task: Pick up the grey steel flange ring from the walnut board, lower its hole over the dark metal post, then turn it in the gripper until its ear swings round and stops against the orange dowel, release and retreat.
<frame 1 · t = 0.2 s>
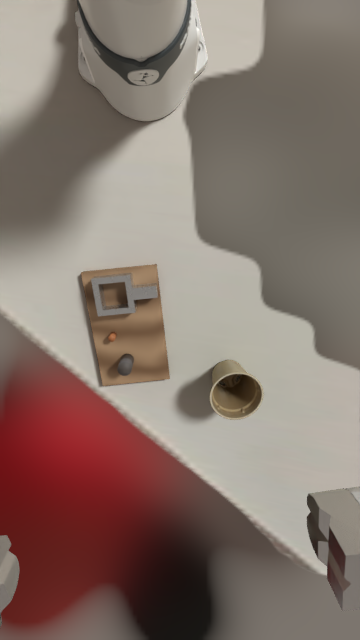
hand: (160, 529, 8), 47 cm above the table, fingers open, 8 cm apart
flange: (150, 288, 52), point 1 cm above the table, touching board
flower pot: (226, 373, 60), on the table
board: (128, 326, 56), on the table
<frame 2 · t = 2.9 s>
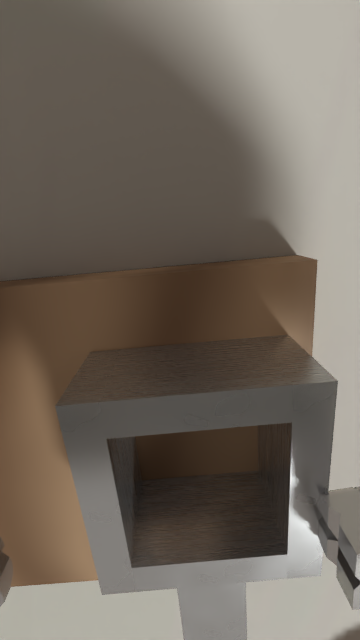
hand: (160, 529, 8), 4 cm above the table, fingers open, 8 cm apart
flange: (205, 547, 12), point 2 cm above the table, touching board, gripper
board: (27, 436, 12), on the table
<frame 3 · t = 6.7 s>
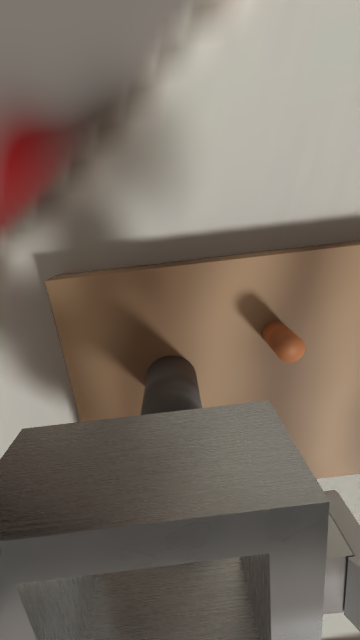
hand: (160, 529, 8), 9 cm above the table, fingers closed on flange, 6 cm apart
flange: (182, 638, 10), point 8 cm above the table, touching gripper
board: (280, 368, 17), on the table
when the fingers open (2 cm above the table, at t = 10.2 s): flange stays where it is, resting on board.
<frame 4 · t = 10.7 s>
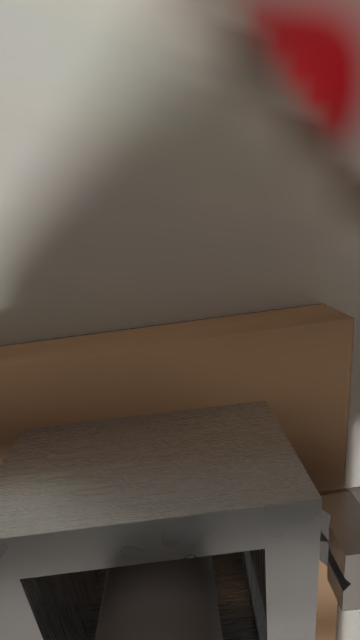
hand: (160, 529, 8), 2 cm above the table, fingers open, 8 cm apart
flange: (181, 633, 11), point 1 cm above the table, touching board
board: (158, 585, 12), on the table
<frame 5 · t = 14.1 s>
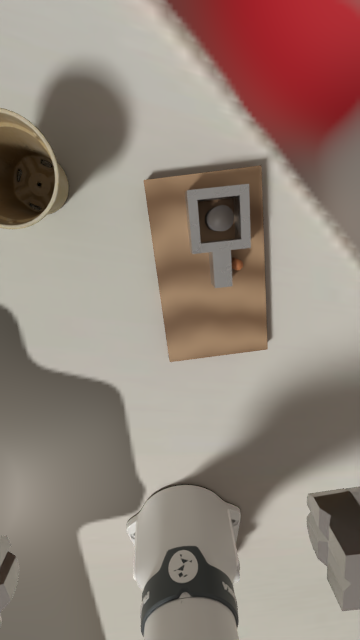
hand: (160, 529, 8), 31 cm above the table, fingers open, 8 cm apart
flange: (218, 272, 36), point 1 cm above the table, touching board
flower pot: (42, 185, 34), on the table
board: (209, 270, 37), on the table
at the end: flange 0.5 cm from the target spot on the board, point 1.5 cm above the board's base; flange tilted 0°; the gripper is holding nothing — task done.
